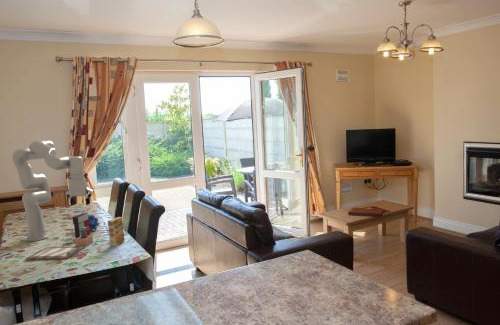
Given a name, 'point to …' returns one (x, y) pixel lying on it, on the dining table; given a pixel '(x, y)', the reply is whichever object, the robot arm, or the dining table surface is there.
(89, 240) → the pen cup
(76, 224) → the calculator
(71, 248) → the clipboard
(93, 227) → the grapes
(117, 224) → the candy box
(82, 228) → the marker
